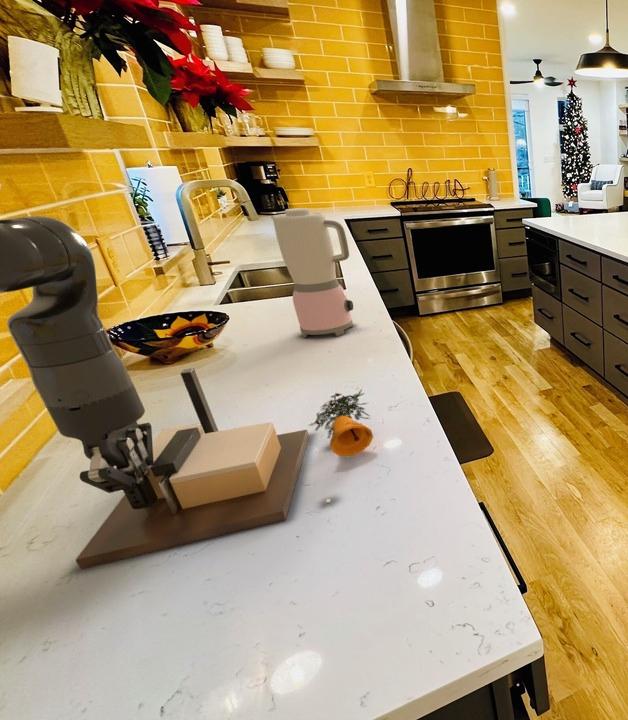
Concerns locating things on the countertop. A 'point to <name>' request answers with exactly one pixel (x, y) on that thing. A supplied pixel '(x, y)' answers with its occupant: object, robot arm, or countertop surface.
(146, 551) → the board
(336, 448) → the christmas decoration
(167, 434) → the slice
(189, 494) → the tan rounded box
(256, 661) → the countertop surface
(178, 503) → the knife
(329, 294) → the blender
